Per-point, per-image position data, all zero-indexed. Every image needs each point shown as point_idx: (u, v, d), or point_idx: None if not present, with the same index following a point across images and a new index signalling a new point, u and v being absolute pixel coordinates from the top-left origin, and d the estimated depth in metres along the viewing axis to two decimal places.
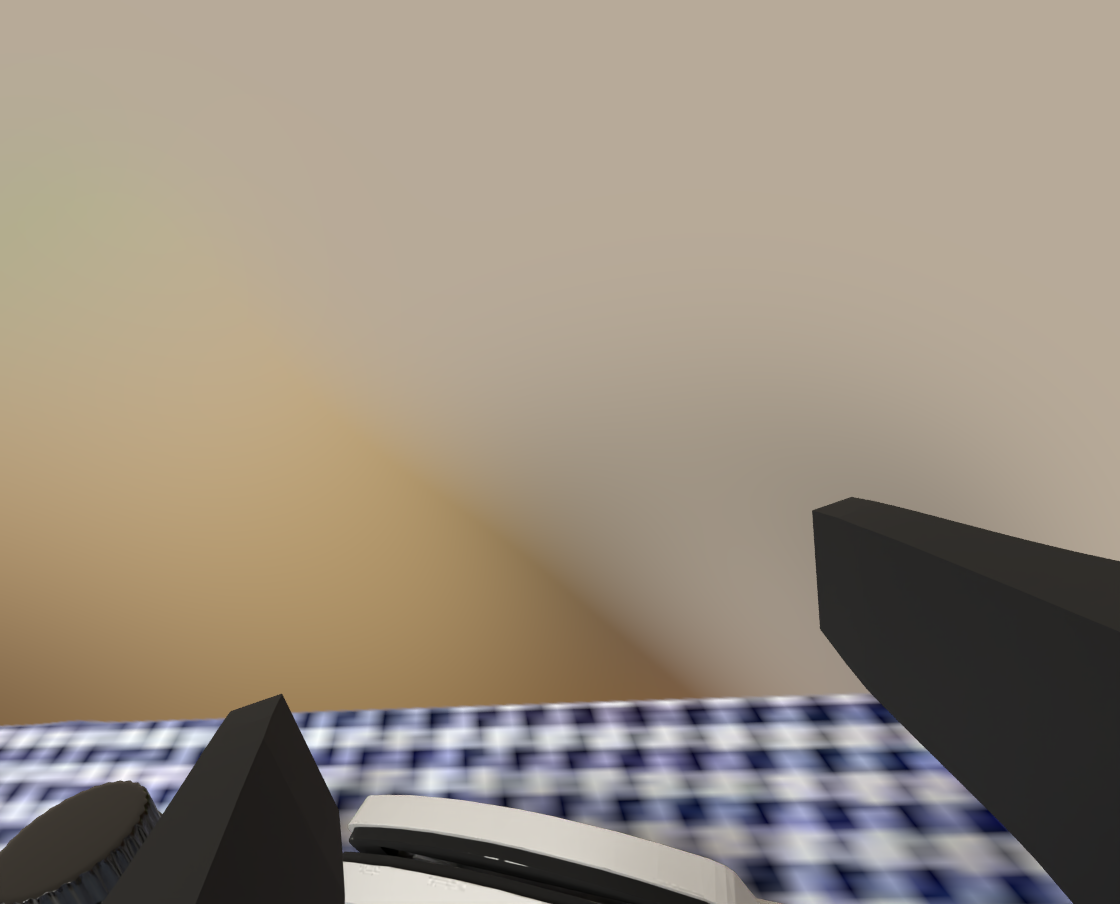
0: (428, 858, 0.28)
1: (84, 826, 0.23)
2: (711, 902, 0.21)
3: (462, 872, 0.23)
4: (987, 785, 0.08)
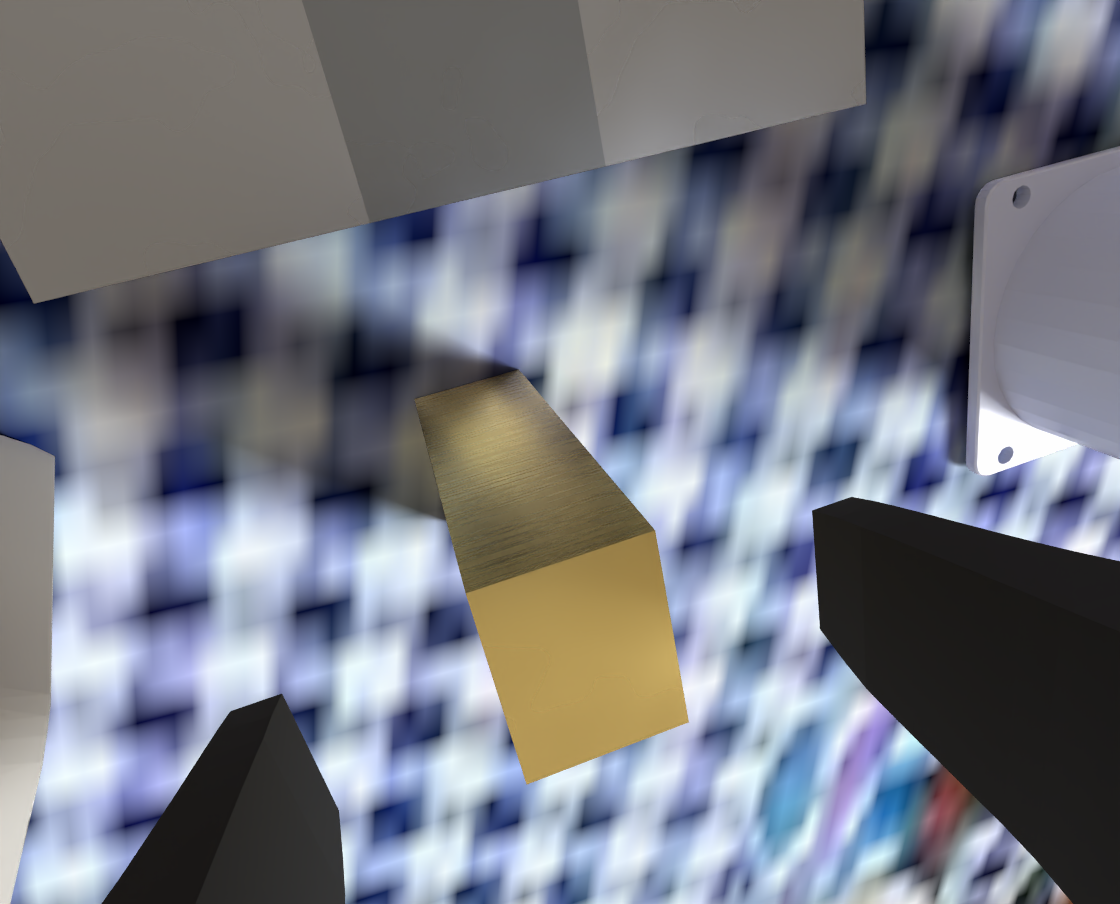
0: None
1: None
2: None
3: None
4: (987, 785, 0.08)
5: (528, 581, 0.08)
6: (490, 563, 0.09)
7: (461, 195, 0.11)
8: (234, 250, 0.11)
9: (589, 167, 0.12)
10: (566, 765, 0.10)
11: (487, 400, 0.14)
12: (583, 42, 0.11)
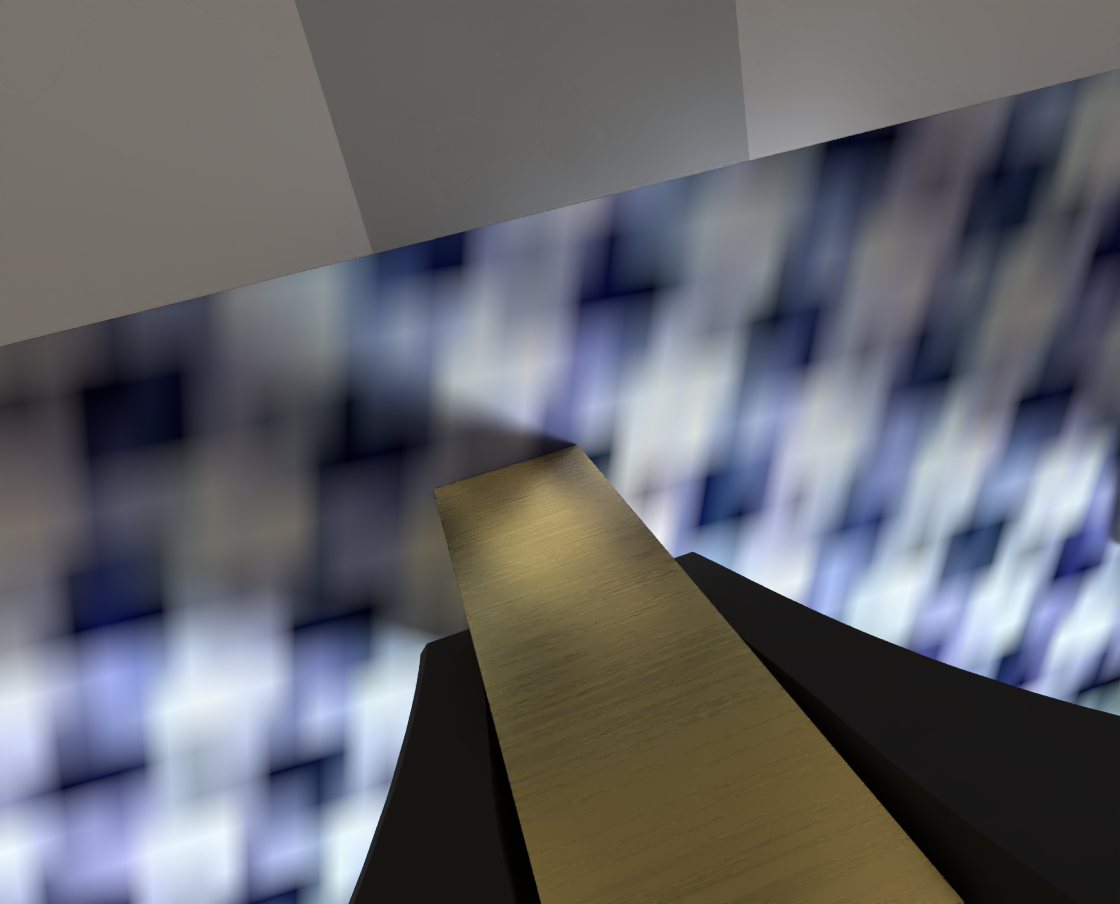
0: None
1: None
2: None
3: None
4: None
5: None
6: None
7: (523, 208, 0.07)
8: (143, 302, 0.06)
9: (725, 162, 0.07)
10: None
11: (541, 501, 0.10)
12: None
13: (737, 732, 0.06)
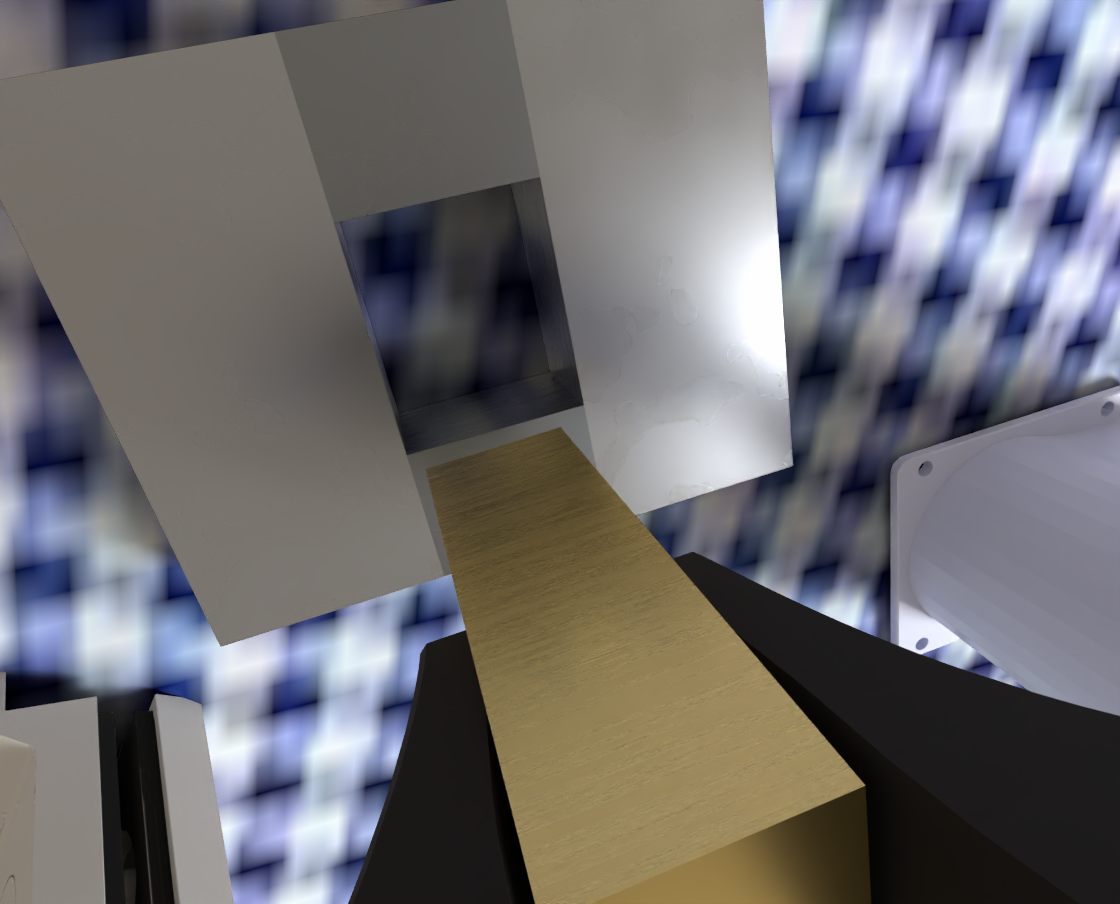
0: None
1: None
2: None
3: None
4: None
5: (649, 889, 0.05)
6: (576, 841, 0.05)
7: None
8: (352, 601, 0.16)
9: None
10: None
11: (524, 476, 0.11)
12: (592, 454, 0.16)
13: (686, 662, 0.06)
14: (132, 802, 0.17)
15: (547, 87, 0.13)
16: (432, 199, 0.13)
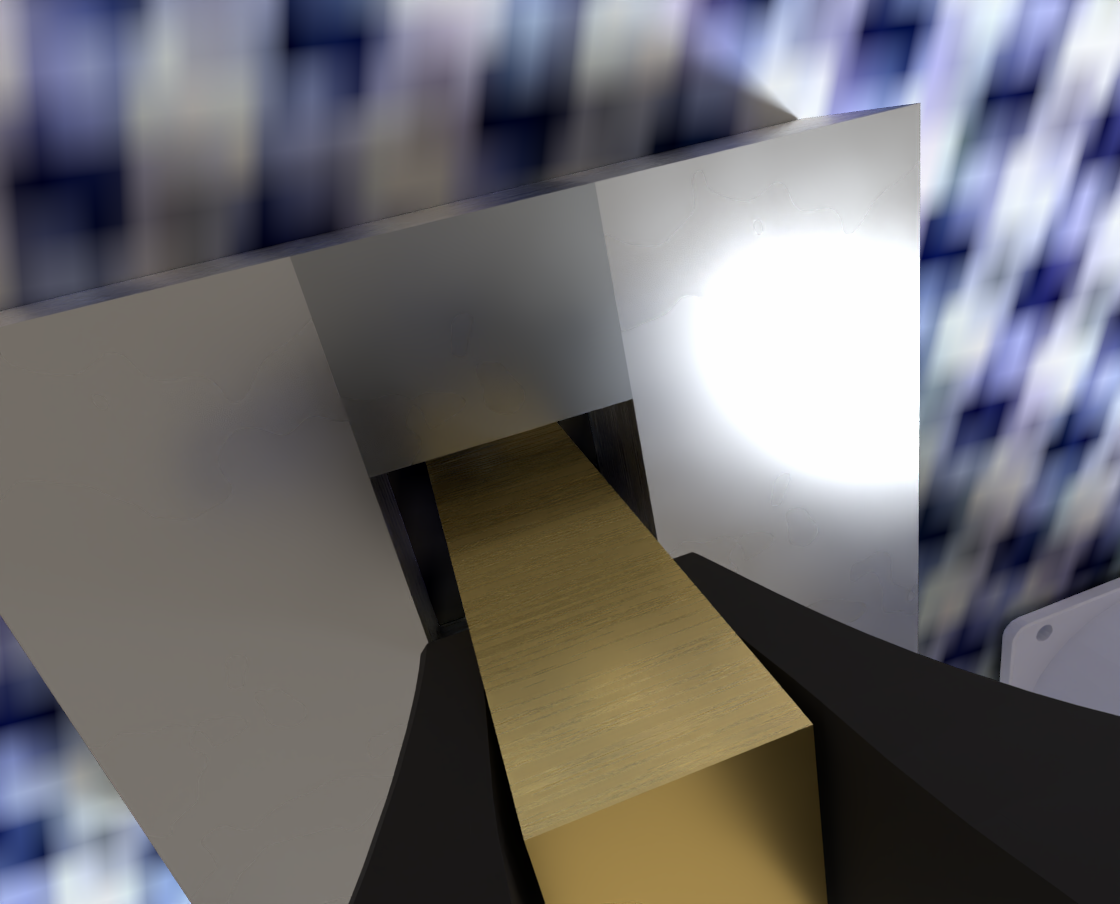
0: None
1: None
2: None
3: None
4: None
5: (620, 813, 0.05)
6: (556, 773, 0.06)
7: None
8: None
9: None
10: None
11: (518, 463, 0.11)
12: None
13: (661, 624, 0.07)
14: None
15: (645, 292, 0.10)
16: (496, 438, 0.10)
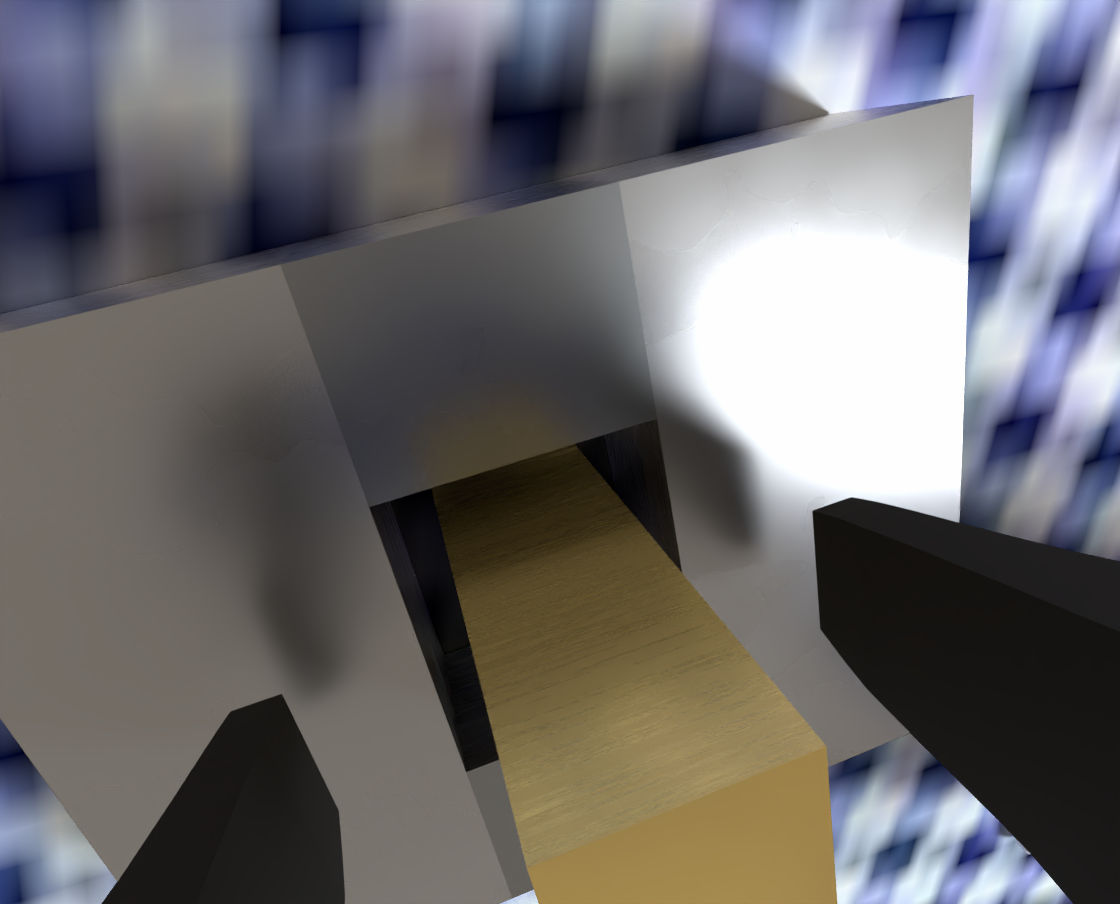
0: None
1: None
2: None
3: None
4: (987, 785, 0.08)
5: (628, 839, 0.05)
6: (561, 797, 0.05)
7: None
8: None
9: None
10: None
11: (519, 467, 0.11)
12: None
13: (667, 638, 0.07)
14: None
15: (672, 302, 0.09)
16: (508, 462, 0.09)
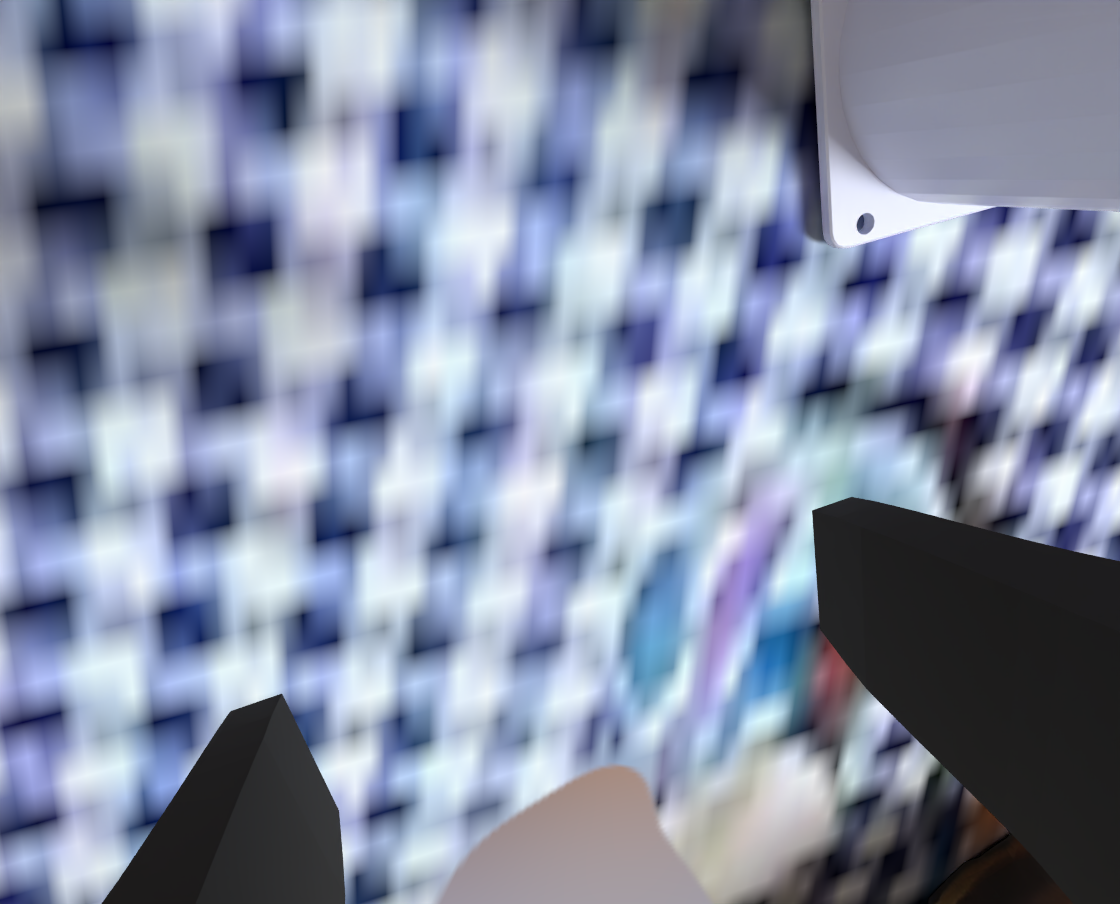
0: None
1: None
2: None
3: None
4: (987, 785, 0.08)
5: None
6: None
7: None
8: None
9: None
10: None
11: None
12: None
13: None
14: None
15: None
16: None
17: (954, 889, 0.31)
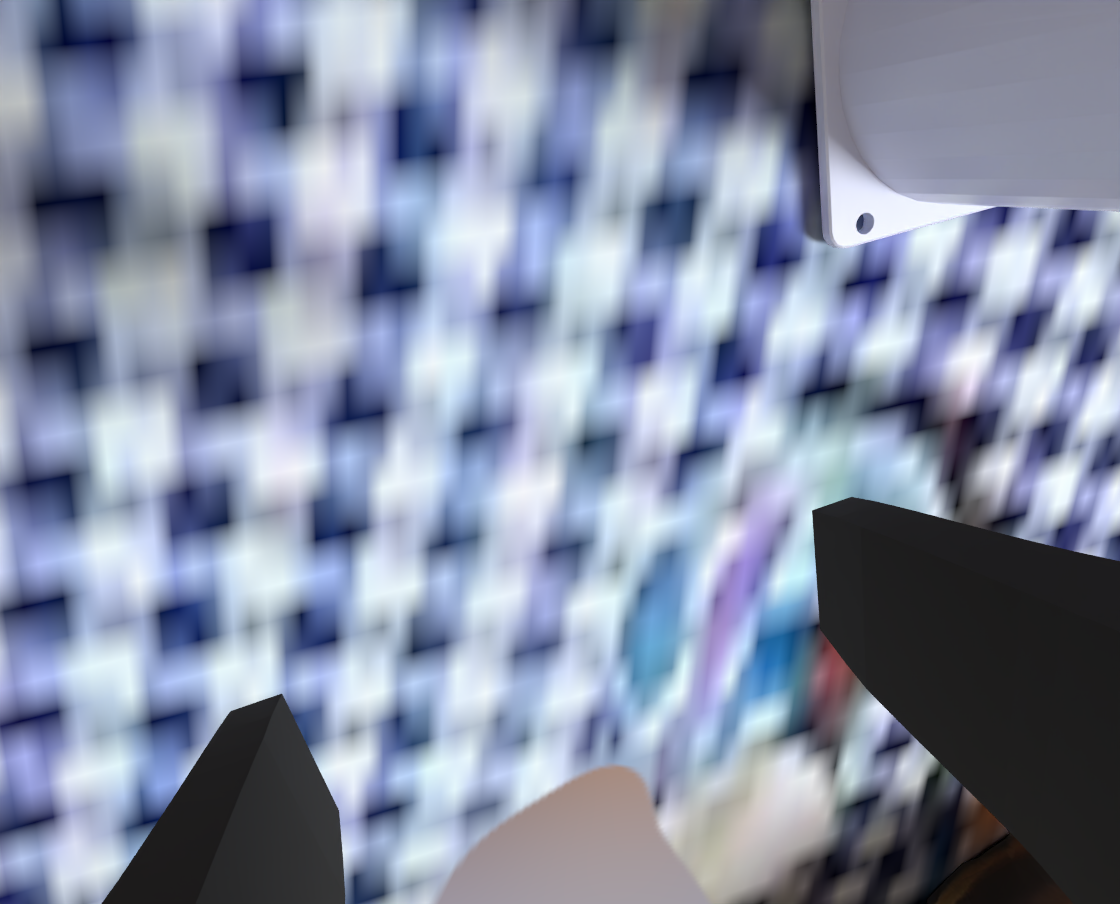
0: None
1: None
2: None
3: None
4: (987, 785, 0.08)
5: None
6: None
7: None
8: None
9: None
10: None
11: None
12: None
13: None
14: None
15: None
16: None
17: (952, 889, 0.30)
